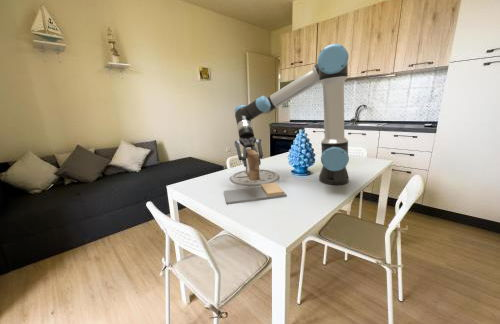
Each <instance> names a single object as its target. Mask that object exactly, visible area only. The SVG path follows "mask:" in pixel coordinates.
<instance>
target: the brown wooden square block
mask: <svg viewBox="0 0 500 324" xmlns="http://www.w3.org/2000/svg"><path fill="white" fill-rule="evenodd" d="M257 152H258V151H257ZM257 152H256V151H255V150H253V149H251V148H250V149H248V148H246V158H248V164H249V169H250V172H249V174H248V173H247V168H246V167H245V170H246V174H247V176H248V177H249V179H250V180H251V181H256V180H260V179H259V167H260V165H259V152H258V153H257Z"/></svg>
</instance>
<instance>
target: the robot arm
mask: <svg viewBox="0 0 500 324" xmlns="http://www.w3.org/2000/svg"><path fill="white" fill-rule="evenodd" d="M348 63H349V53H348V51H347V49H346V47H344V46H343V45H342V44H341V43H331V44H328V45H327V46H325V47H324V48H323V49H322V50H320V52H319V55H318V58H317V63H315V64H314V65H313V67H312V69H310V70H309V71H307V72H305V73H304V74H302V75H301V76H300V77H297V78H296V79H295V80H293V81H292V82H289V83H288V84H286V85H285V86H284V87H282V88H280V89H279V90H277V91H275V92H274V93H272V94H270V95H269V96H265V95H261V96H259V97H258V98H256V99H255V100H254V101H252V102H251V103H249V104H248V105H246V104H241V105H237V106H236V107H235V109H234V117H235V120H236V127H237V132H238V137H239V139H238V140H235V141H234V146H235V148H236V154H237V156H238V160H239V161H242V162H243V163H242V164H243V167H244V168H245V169H246V168H247V173H248V174H249V172H250V169H249V164H248V158H246V150H247V149H248V148H250V149H253V150H255V151H256V152H257V153H258V154H259V172H260V169H261V167H260V166H261V163H262V162H261V159H263V157H264V154H263V148H262V139H257V138H256V137H255V134H254V130H253V129H254V128H253V125H252V120H254V119H256V118H258V117H259V116H261V115H266V114H268V115H269V114H270V113H272V112H273V111H274V110H276V109H277V108H279V107H281V106H283V105H284V104H286V103H287V102H289V101H290V100H292V99H294V98H296V97H297V96H299V95H302V94H303V93H304V92H306V91H308V90H309V89H311V88H313V87H314V86H316V85H318V84H322V93H323V97H322V98H323V126H324V127H323V131H324V133H323V134H324V138H323V139H322V140H321V143H320V145H321V154H320V155H321V156H320V161H321V164H322V168H321V170H320V172H319V175H318V181H319V182H321V183H322V184H327V185H332V186H333V185H334V186H340V185H341V186H342V185H346V184H348V183H349V180H350V178H349V173H348V171H347V165H348V163H349V161H350V156H349V140H348V139H347V138H346V137H345V81H346V80H347V79H348V76H349V75H348V74H349V73H348V71H349V70H348V67H349V66H348V65H349V64H348ZM255 143H256V145H257V148H256V146H255ZM240 145H241V146H242V147H243V148H242V149H243V150H242V152H241V148H240ZM242 153H243V154H242Z"/></svg>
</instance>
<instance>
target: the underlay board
mask: <svg viewBox="0 0 500 324" xmlns="http://www.w3.org/2000/svg"><path fill="white" fill-rule="evenodd" d="M223 195H224V199H225V203H226V205H232V204H241V203H247V202H248V203H250V202H257V201H263V200H265V201H266V200H270V199H272V200H273V199H280V198H286V197H287V196H288V194H287V193H286V192H285V191H284V189H282V187H280V185H279V184H277V181H276V182H274V183H267V184H261V186H252V187H246V188H245V187H244V188H236V189H230V190H223Z"/></svg>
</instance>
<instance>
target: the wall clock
mask: <svg viewBox="0 0 500 324" xmlns="http://www.w3.org/2000/svg"><path fill="white" fill-rule="evenodd" d="M259 179H260V180H256V181H251V180H250V179H249V177H248V176H247V174H246V169H245V170H241V171H238V172H235V173H233V174H232V175H231V176H230V177H229V182H231V183H232V184H235V185H237V186H244V187H246V186H247V187H261V184H267V183H275V182H276V183H277V182H278V181H279V179H280V175H279V174H278V173H276V172H274V171H271V170H268V169H261V168H260V172H259Z"/></svg>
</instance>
